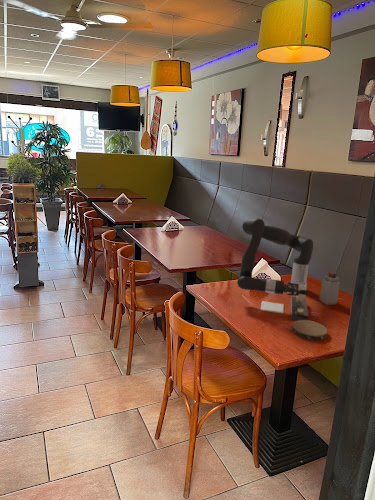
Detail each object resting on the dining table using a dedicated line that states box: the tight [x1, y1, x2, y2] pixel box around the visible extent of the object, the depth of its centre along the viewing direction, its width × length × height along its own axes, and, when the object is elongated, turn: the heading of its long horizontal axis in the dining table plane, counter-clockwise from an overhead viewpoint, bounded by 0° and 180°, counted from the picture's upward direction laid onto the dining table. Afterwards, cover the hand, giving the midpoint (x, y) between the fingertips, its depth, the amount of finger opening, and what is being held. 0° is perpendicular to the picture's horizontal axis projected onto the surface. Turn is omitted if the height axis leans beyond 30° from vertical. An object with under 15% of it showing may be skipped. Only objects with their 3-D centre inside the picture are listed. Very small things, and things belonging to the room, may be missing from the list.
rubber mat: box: [260, 300, 285, 314], centre depth 204 cm, size 12×12×1 cm
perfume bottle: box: [319, 271, 341, 306], centre depth 214 cm, size 7×7×18 cm
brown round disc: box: [291, 320, 328, 342], centre depth 177 cm, size 16×16×3 cm
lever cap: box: [297, 281, 308, 303], centre depth 198 cm, size 5×4×10 cm
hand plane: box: [290, 296, 309, 321], centre depth 200 cm, size 24×8×6 cm, turn 165°
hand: (307, 291), depth 197 cm, fingers closed on lever cap, 5 cm apart
